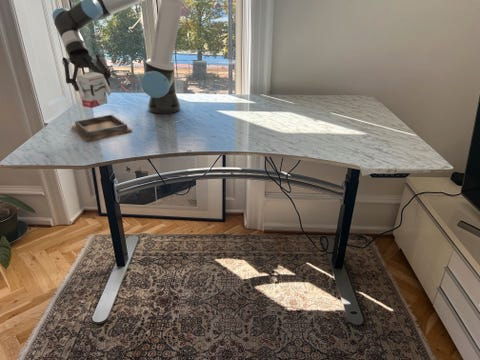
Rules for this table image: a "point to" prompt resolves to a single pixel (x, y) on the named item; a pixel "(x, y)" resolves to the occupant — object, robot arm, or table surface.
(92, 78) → the ink box
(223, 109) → the table surface
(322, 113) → the table surface
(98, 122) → the tray
